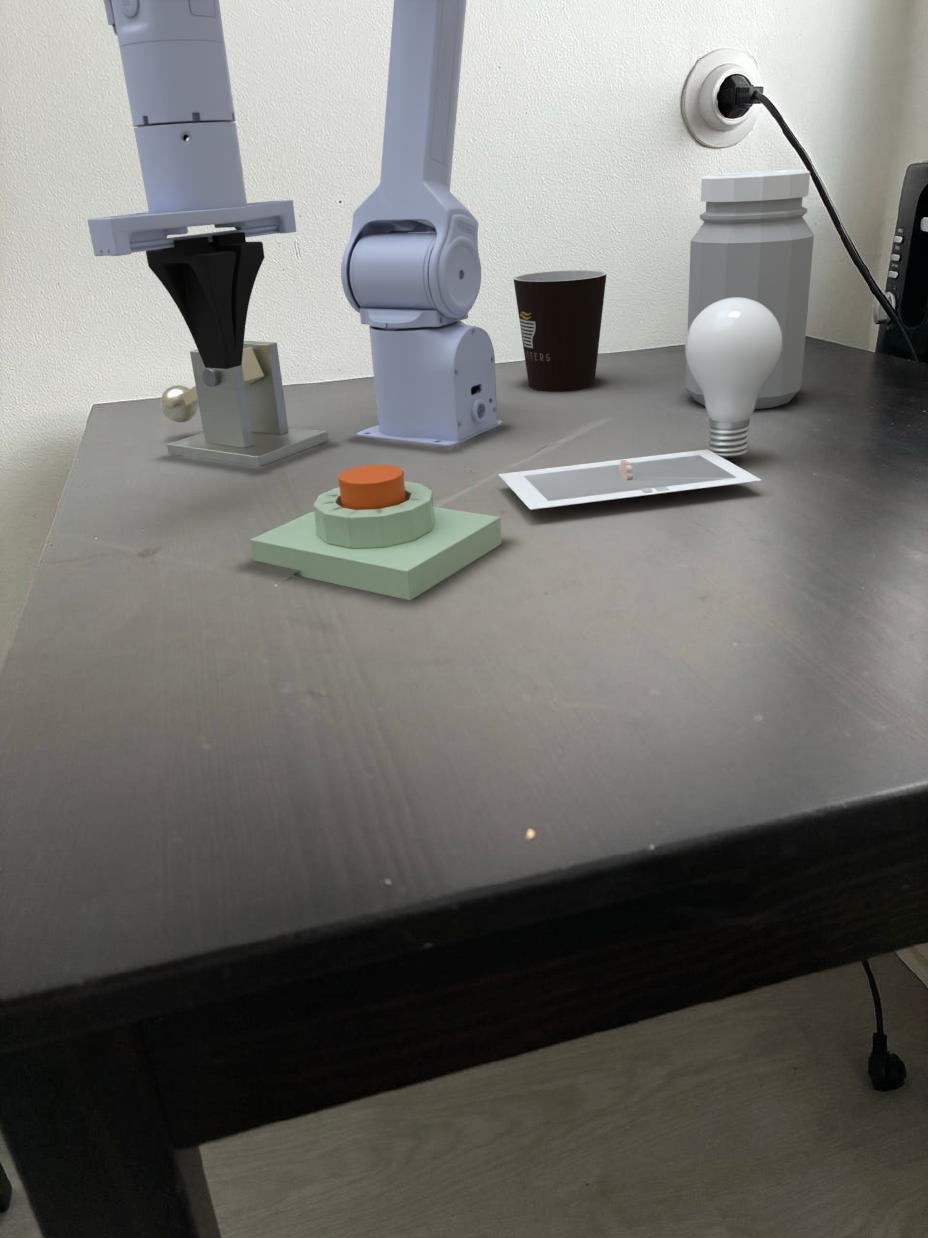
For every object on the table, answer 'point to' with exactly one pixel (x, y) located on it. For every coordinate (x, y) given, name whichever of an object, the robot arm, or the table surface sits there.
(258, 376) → the lever
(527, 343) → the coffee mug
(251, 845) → the table surface
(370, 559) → the button box
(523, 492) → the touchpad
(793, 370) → the jar
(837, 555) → the table surface
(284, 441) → the bracket
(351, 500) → the button
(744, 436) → the lightbulb
